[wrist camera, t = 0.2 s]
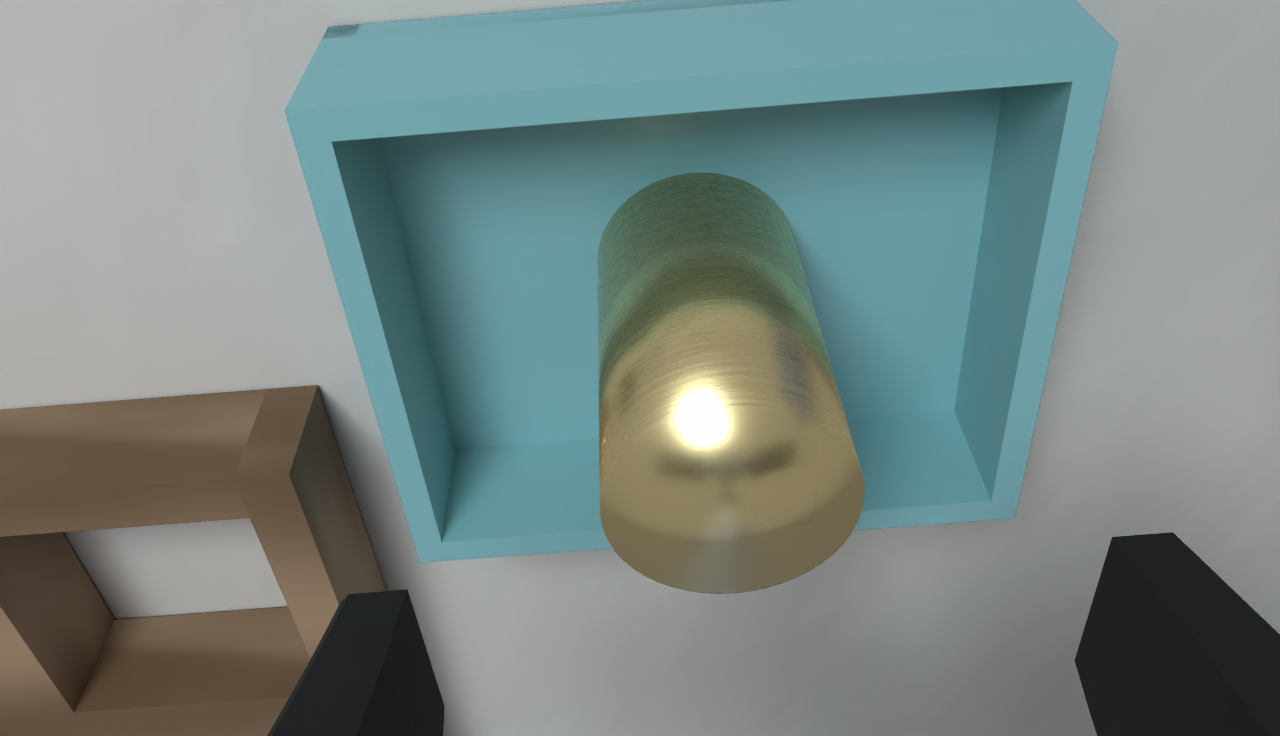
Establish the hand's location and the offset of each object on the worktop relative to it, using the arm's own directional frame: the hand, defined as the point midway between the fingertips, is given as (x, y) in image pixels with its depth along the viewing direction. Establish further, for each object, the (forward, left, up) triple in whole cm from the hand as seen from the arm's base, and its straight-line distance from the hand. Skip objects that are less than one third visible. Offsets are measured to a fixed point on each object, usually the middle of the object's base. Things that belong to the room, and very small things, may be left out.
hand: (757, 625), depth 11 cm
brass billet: (-1, 0, -9) cm, 9 cm away
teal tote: (-1, 0, -9) cm, 9 cm away
